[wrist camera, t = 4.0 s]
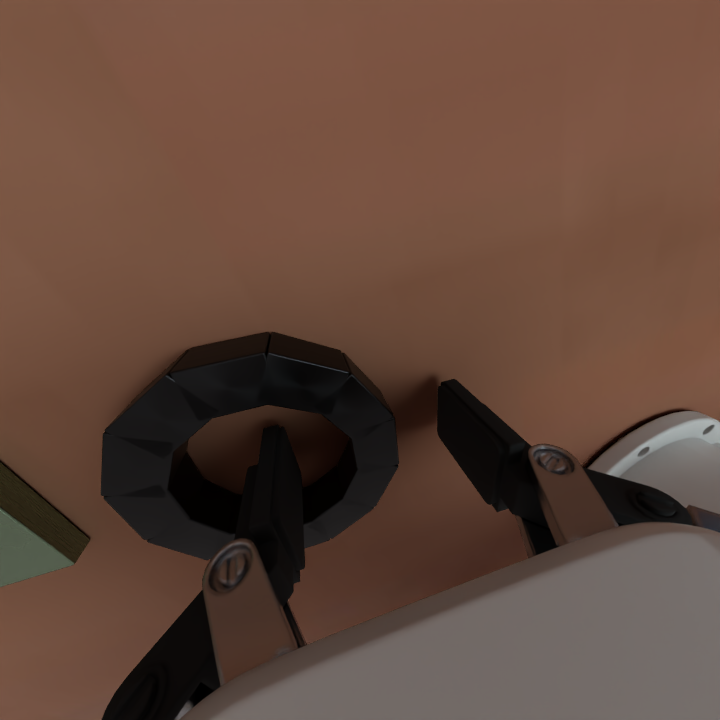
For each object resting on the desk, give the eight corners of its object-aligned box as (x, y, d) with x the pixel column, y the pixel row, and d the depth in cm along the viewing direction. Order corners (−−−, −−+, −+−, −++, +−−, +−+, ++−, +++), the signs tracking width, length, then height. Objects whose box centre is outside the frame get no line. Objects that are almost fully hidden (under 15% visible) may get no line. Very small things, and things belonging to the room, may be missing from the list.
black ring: (371, 310, 9) (386, 325, 8) (392, 484, 14) (404, 515, 13) (65, 373, 8) (10, 407, 6) (201, 544, 13) (189, 587, 11)
